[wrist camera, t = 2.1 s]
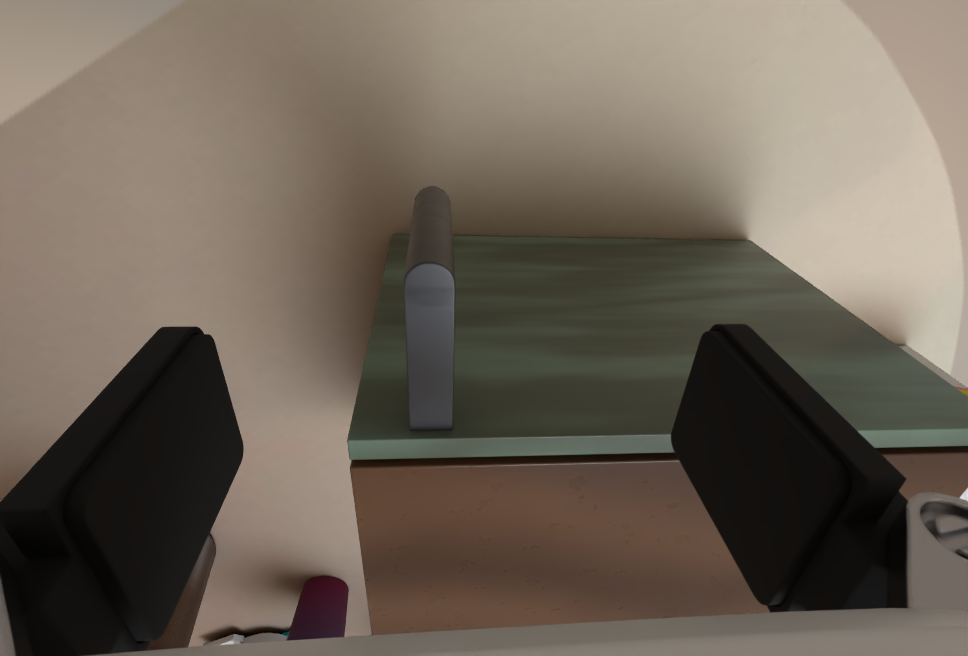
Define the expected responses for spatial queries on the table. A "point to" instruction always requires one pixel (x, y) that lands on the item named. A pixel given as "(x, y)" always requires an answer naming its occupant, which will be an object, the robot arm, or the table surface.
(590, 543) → the cupboard
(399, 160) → the table surface
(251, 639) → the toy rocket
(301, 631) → the cup
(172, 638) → the plant pot
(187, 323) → the table surface
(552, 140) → the table surface
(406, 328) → the cupboard door
